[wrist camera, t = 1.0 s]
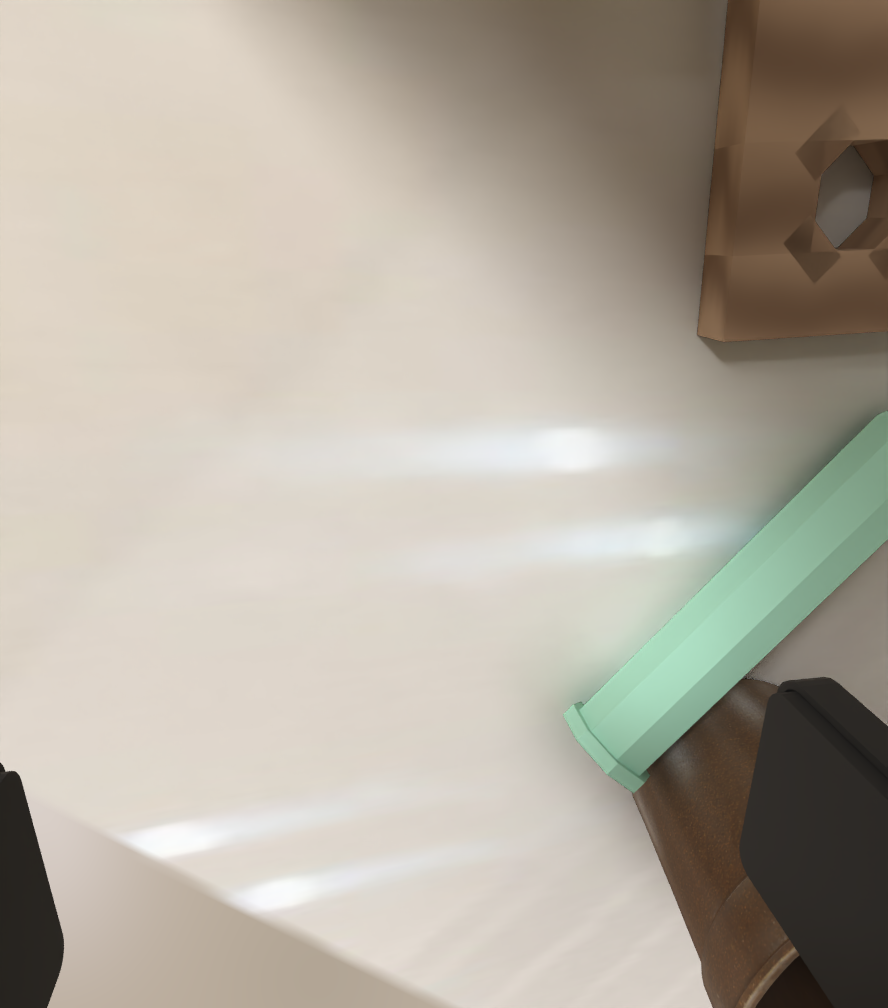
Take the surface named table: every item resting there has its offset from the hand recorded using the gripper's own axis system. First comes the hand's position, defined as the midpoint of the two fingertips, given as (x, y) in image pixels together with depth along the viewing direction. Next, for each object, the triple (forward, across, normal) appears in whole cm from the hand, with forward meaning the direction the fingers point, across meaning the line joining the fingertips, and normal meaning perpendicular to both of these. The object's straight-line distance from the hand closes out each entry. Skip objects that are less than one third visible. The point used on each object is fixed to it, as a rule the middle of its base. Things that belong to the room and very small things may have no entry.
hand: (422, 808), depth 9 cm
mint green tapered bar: (+27, -22, +12) cm, 36 cm away
